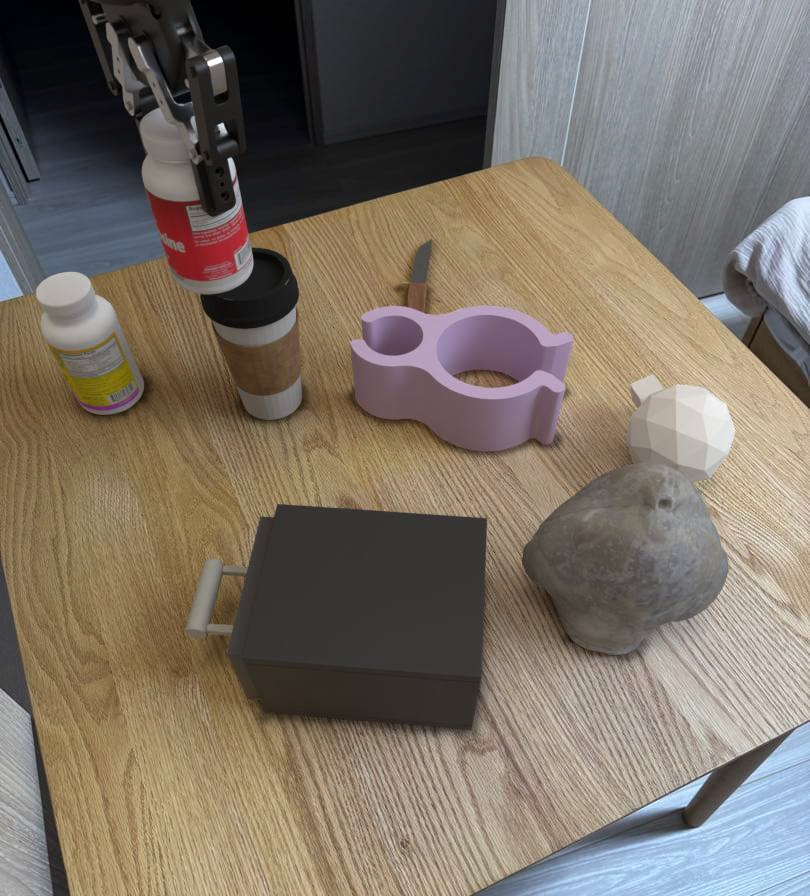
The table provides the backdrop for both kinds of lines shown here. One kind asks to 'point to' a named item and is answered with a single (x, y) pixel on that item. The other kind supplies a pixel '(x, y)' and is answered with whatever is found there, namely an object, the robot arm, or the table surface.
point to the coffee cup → (261, 336)
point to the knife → (419, 279)
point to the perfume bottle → (679, 428)
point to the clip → (454, 351)
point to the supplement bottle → (88, 344)
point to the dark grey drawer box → (370, 616)
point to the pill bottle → (192, 215)
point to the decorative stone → (628, 557)
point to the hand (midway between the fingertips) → (192, 187)
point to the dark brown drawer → (207, 598)
